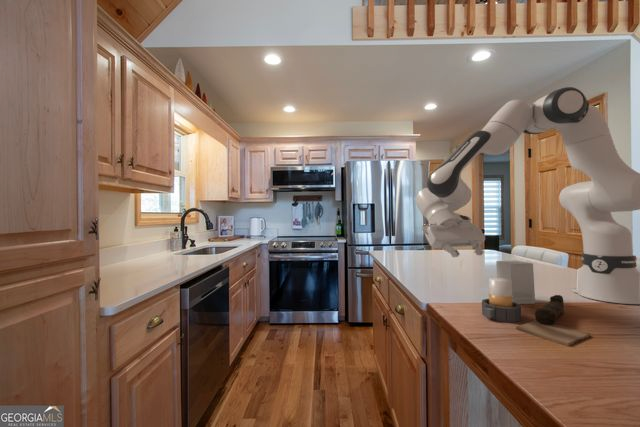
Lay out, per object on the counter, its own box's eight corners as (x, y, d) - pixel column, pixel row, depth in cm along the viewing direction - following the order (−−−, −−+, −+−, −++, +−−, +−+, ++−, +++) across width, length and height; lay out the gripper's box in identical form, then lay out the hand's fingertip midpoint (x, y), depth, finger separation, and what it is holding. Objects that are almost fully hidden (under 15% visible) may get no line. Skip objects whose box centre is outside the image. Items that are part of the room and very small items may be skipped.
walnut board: (538, 321, 70) (538, 319, 70) (590, 336, 61) (590, 333, 61) (516, 329, 65) (515, 326, 65) (568, 346, 56) (567, 343, 56)
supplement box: (536, 304, 84) (534, 263, 84) (512, 304, 84) (510, 263, 84) (519, 297, 91) (517, 259, 91) (496, 297, 91) (495, 260, 91)
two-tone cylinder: (497, 311, 78) (495, 276, 78) (517, 317, 73) (515, 280, 73) (485, 314, 75) (483, 279, 76) (505, 321, 71) (503, 282, 71)
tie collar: (494, 308, 80) (494, 297, 80) (528, 318, 72) (527, 305, 72) (471, 314, 76) (471, 302, 76) (504, 325, 68) (504, 311, 68)
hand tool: (555, 327, 64) (555, 307, 64) (534, 322, 67) (534, 303, 67) (573, 313, 75) (573, 296, 76) (554, 309, 79) (554, 293, 79)
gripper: (423, 217, 89) (446, 250, 79) (473, 216, 95) (499, 246, 85) (415, 231, 93) (436, 263, 83) (463, 229, 99) (488, 259, 89)
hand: (468, 255), depth 84 cm, fingers open, 8 cm apart
